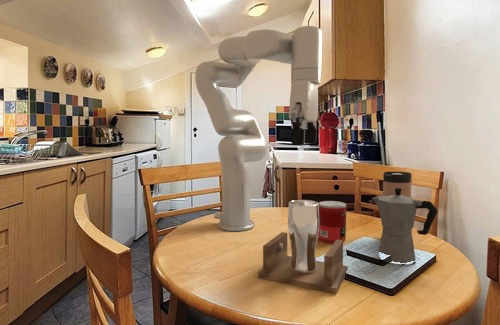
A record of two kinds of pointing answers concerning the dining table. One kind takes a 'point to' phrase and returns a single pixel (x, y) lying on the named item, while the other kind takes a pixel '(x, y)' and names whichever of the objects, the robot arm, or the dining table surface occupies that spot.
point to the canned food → (332, 221)
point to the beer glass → (303, 235)
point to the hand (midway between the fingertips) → (304, 143)
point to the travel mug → (397, 183)
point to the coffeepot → (401, 224)
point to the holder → (279, 270)
